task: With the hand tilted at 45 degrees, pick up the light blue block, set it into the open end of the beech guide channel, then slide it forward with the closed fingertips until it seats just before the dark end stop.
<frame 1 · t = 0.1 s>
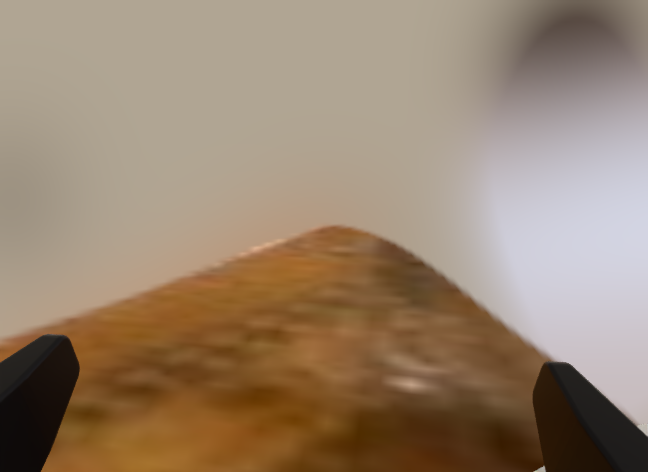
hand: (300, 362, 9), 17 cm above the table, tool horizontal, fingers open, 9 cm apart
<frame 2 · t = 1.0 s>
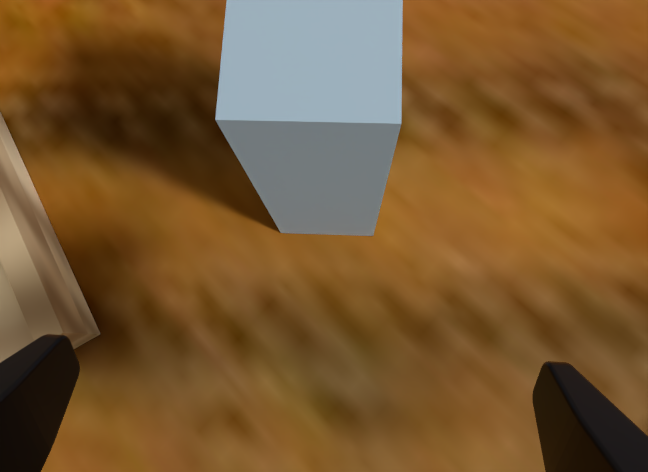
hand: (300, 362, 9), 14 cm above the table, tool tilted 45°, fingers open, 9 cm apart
light blue block: (328, 185, 25), on the table
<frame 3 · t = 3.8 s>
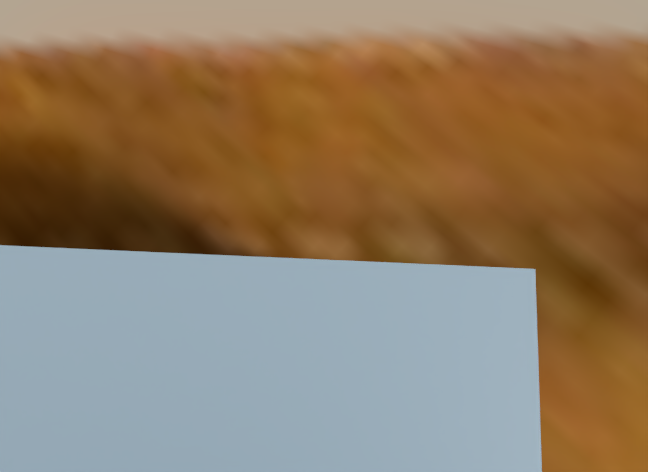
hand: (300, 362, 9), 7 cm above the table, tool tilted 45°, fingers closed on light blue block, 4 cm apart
light blue block: (316, 397, 16), on the table, touching gripper
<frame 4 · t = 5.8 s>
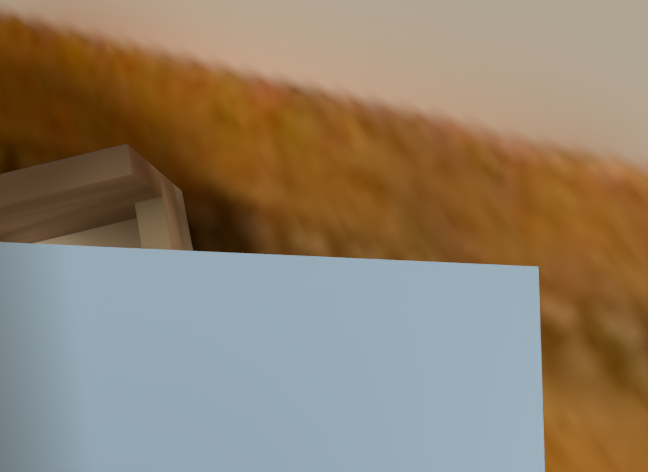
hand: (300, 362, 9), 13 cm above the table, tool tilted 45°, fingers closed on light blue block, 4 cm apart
light blue block: (317, 396, 16), point 7 cm above the table, touching gripper
channel: (120, 393, 23), on the table
when the fingers open (9 cm above the table, at t = 7.6 s): light blue block drops 1 cm, resting on channel.
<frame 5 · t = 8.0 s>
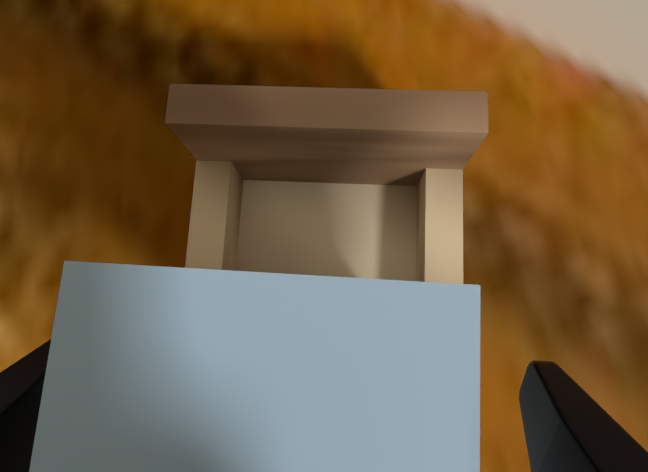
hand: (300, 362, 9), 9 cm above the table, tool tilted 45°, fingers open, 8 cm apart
light blue block: (317, 390, 17), point 1 cm above the table, touching channel
channel: (320, 388, 18), on the table
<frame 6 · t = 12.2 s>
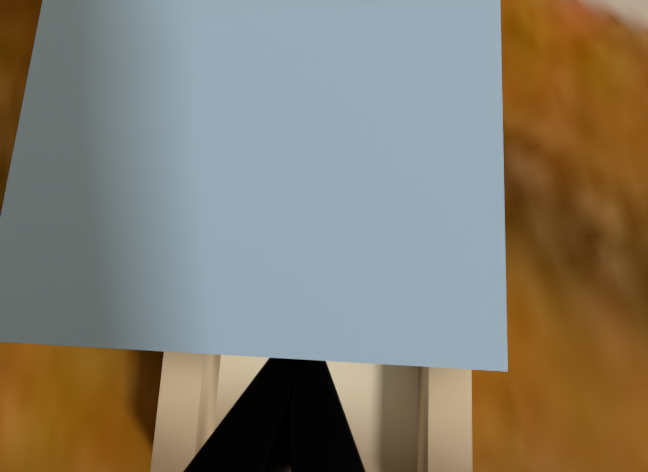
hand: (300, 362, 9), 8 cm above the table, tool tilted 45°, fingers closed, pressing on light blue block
light blue block: (321, 270, 17), point 1 cm above the table, touching channel, gripper
channel: (322, 325, 18), on the table
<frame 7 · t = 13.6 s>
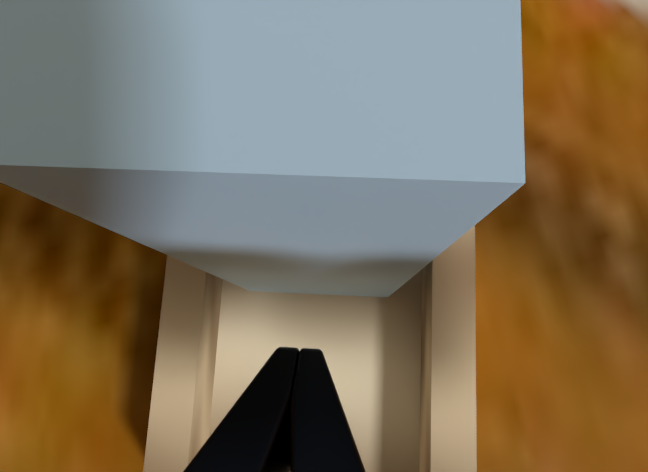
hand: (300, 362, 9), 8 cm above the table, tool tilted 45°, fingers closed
light blue block: (322, 219, 17), point 1 cm above the table, touching channel
channel: (320, 330, 17), on the table
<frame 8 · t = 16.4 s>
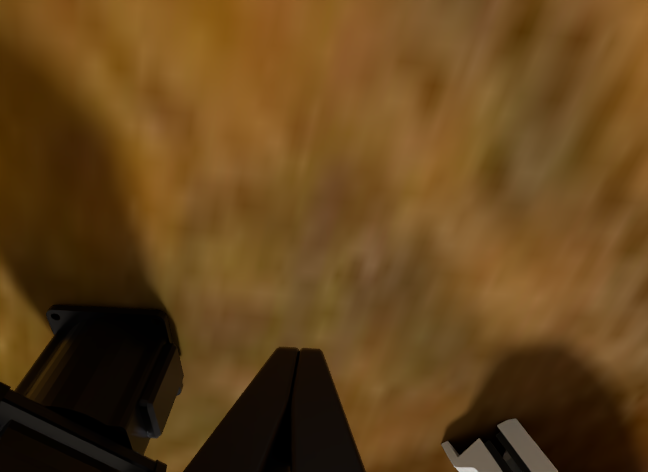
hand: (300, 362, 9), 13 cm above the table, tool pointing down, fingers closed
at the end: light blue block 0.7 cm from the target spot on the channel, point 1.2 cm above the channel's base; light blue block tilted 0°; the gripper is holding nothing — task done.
